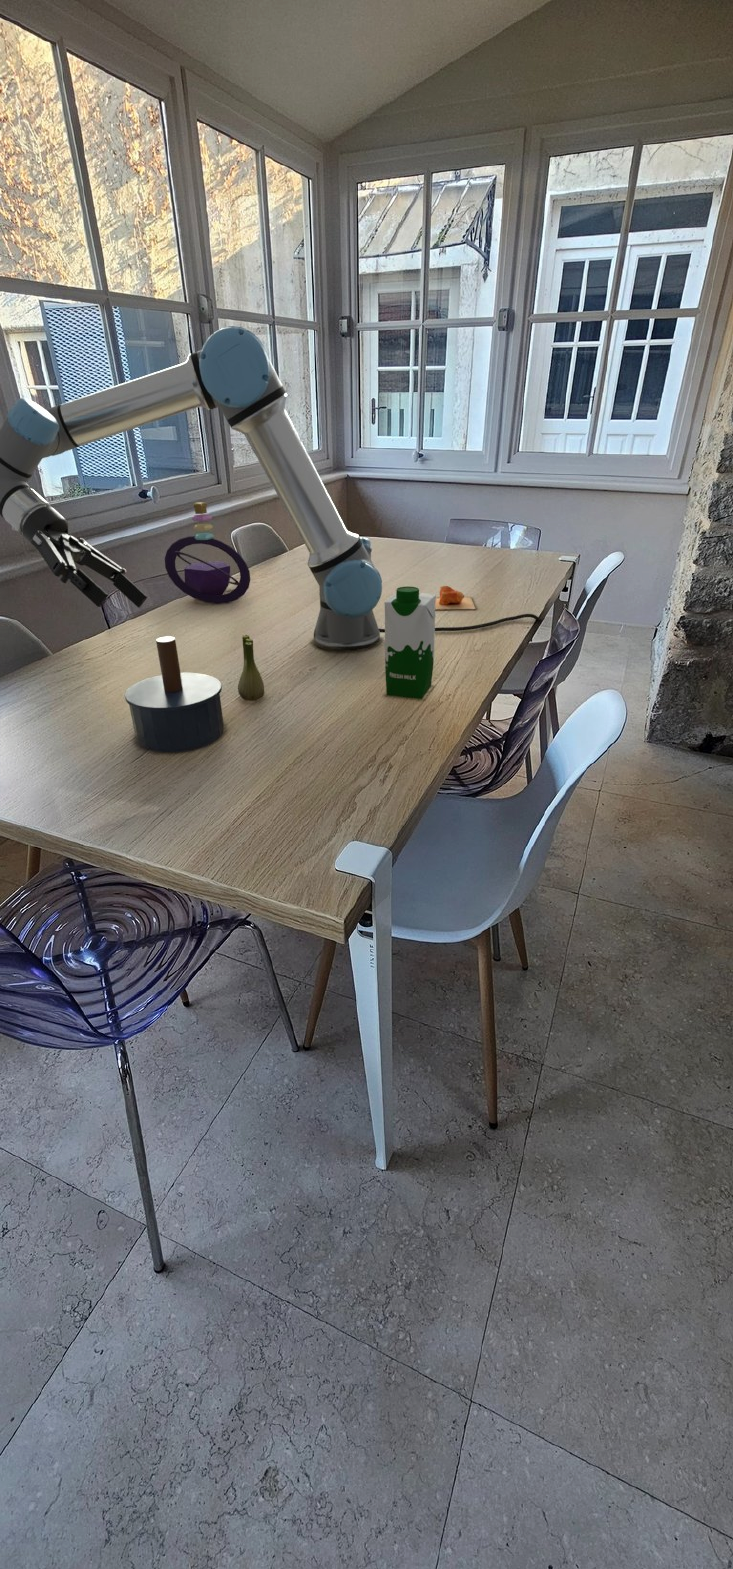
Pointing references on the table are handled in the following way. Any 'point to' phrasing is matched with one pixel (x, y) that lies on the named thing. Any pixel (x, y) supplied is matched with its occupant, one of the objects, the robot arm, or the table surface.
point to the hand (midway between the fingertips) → (124, 601)
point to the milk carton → (409, 642)
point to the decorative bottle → (206, 566)
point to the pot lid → (172, 684)
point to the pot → (178, 727)
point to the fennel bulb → (250, 674)
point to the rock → (452, 600)
